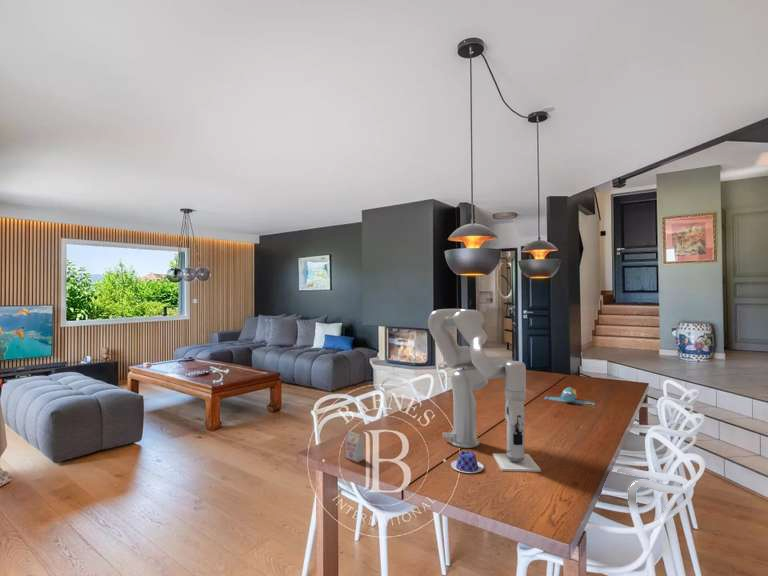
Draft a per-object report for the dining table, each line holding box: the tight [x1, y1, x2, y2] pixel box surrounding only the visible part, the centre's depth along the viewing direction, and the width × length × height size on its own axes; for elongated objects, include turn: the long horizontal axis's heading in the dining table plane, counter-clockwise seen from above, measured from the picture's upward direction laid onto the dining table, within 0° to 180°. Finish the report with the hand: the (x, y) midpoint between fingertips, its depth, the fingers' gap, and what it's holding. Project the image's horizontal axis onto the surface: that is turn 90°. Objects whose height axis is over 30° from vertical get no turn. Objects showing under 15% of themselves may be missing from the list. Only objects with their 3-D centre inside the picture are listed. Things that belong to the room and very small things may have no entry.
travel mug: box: [506, 407, 525, 461], centre depth 153 cm, size 6×7×20 cm
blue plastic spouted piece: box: [544, 386, 596, 406], centre depth 240 cm, size 28×9×15 cm
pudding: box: [450, 450, 484, 474], centre depth 150 cm, size 12×12×5 cm
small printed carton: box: [344, 430, 364, 463], centre depth 157 cm, size 4×7×10 cm, turn 49°
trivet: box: [492, 452, 542, 473], centre depth 153 cm, size 14×14×1 cm
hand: (515, 440), depth 153 cm, fingers closed on travel mug, 6 cm apart
